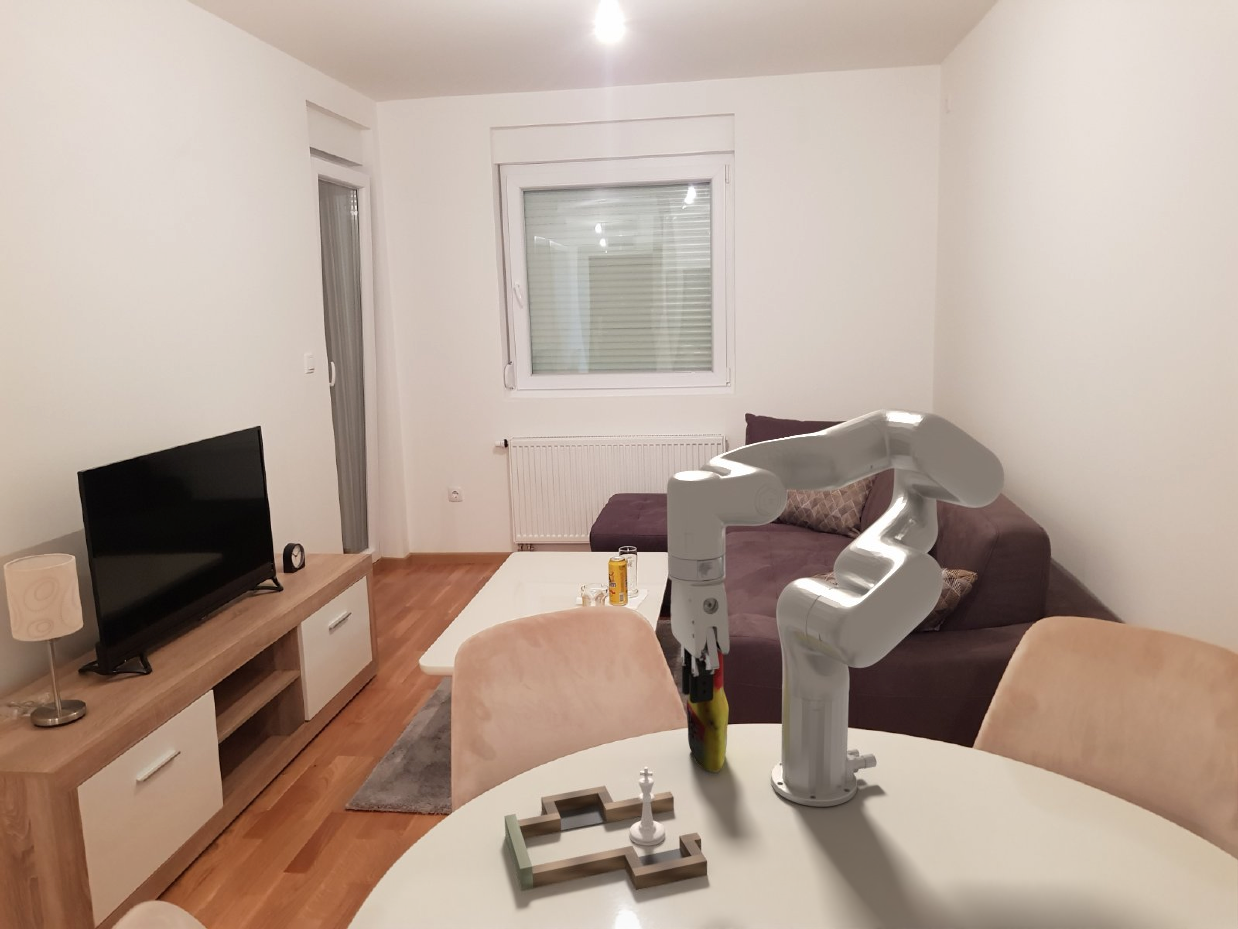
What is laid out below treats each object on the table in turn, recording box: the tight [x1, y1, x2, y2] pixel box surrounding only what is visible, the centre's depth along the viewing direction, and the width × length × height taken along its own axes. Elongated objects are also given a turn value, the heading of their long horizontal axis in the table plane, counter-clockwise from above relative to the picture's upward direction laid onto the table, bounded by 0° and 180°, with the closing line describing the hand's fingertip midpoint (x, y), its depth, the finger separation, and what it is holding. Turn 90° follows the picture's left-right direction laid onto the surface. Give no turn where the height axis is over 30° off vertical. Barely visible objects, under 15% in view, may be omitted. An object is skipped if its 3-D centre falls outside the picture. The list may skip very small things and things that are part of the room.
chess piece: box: [628, 766, 666, 847], centre depth 120 cm, size 5×5×10 cm
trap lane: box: [504, 785, 708, 891], centre depth 119 cm, size 24×21×3 cm
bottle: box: [686, 649, 729, 772], centre depth 138 cm, size 12×6×20 cm, turn 1°
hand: (697, 696), depth 119 cm, fingers closed
